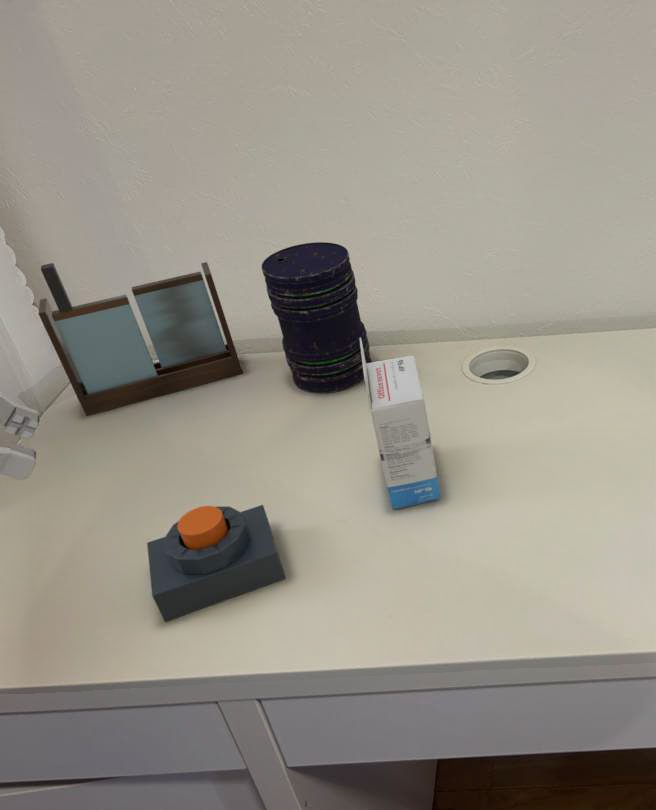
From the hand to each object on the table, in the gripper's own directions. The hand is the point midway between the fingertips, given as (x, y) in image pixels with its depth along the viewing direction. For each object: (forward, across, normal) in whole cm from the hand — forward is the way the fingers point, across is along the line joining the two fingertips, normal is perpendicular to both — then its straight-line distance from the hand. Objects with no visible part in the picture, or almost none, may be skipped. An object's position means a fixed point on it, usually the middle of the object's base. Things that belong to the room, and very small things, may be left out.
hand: (34, 445), depth 58 cm
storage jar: (+30, -29, +6) cm, 42 cm away
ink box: (+32, -4, +7) cm, 33 cm away
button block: (+18, 0, -6) cm, 19 cm away
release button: (+15, 0, -3) cm, 15 cm away
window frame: (+17, -37, -8) cm, 41 cm away
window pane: (+13, -36, -10) cm, 39 cm away
